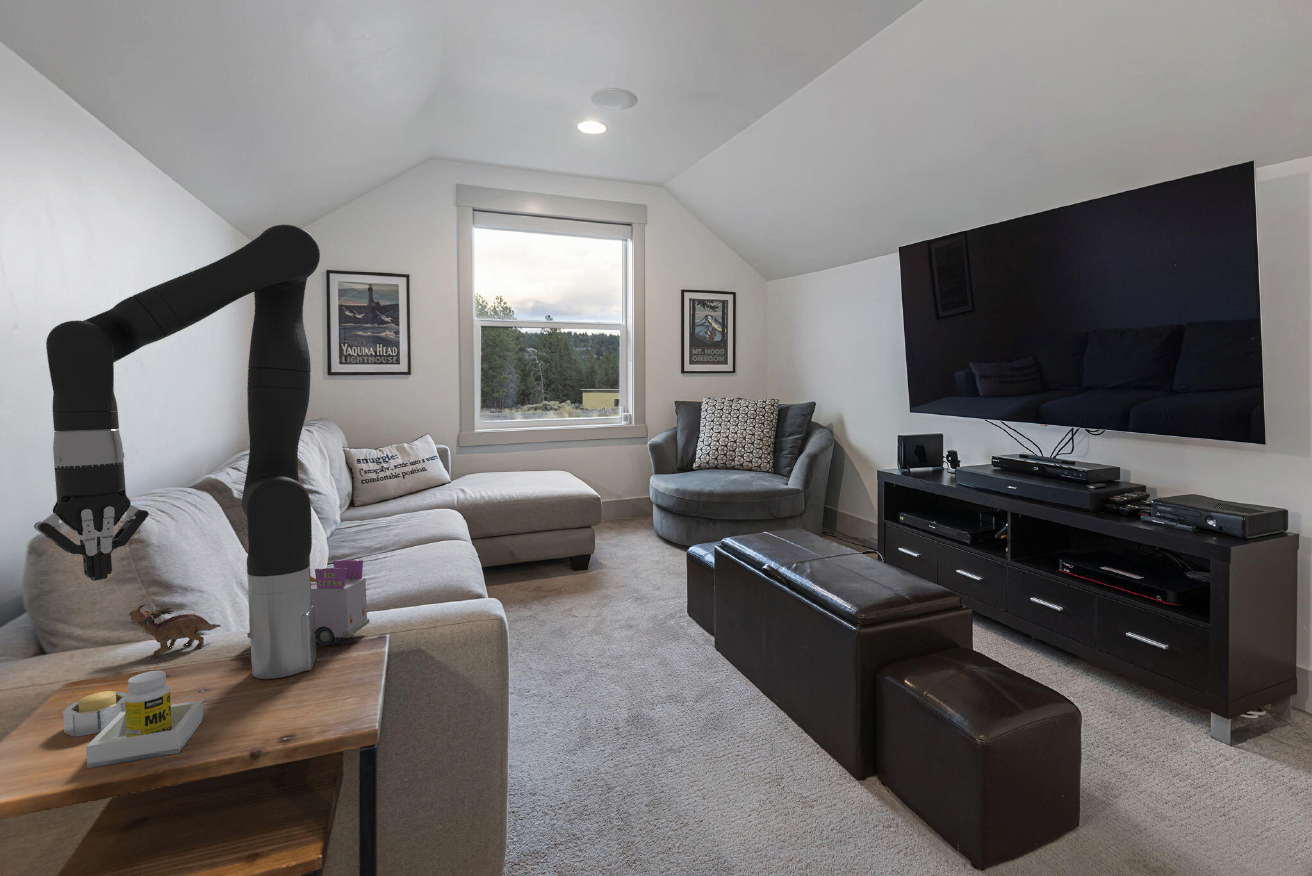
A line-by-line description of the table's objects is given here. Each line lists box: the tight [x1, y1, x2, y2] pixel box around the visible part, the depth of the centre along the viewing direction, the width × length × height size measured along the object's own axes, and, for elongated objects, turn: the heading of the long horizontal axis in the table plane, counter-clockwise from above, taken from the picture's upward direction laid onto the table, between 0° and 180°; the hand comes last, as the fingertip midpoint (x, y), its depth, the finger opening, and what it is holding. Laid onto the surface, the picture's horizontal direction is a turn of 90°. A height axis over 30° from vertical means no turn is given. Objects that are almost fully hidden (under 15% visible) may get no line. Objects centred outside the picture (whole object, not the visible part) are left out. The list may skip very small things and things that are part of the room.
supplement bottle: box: [125, 670, 172, 737], centre depth 85 cm, size 5×5×8 cm
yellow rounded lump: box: [78, 690, 117, 712], centre depth 90 cm, size 4×4×3 cm
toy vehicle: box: [246, 559, 370, 646], centre depth 122 cm, size 9×20×15 cm, turn 88°
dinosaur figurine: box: [128, 604, 222, 660], centre depth 119 cm, size 14×6×9 cm, turn 127°
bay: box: [85, 700, 204, 769], centre depth 85 cm, size 10×10×3 cm
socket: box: [62, 691, 128, 738], centre depth 90 cm, size 7×7×3 cm
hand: (98, 579), depth 93 cm, fingers closed
